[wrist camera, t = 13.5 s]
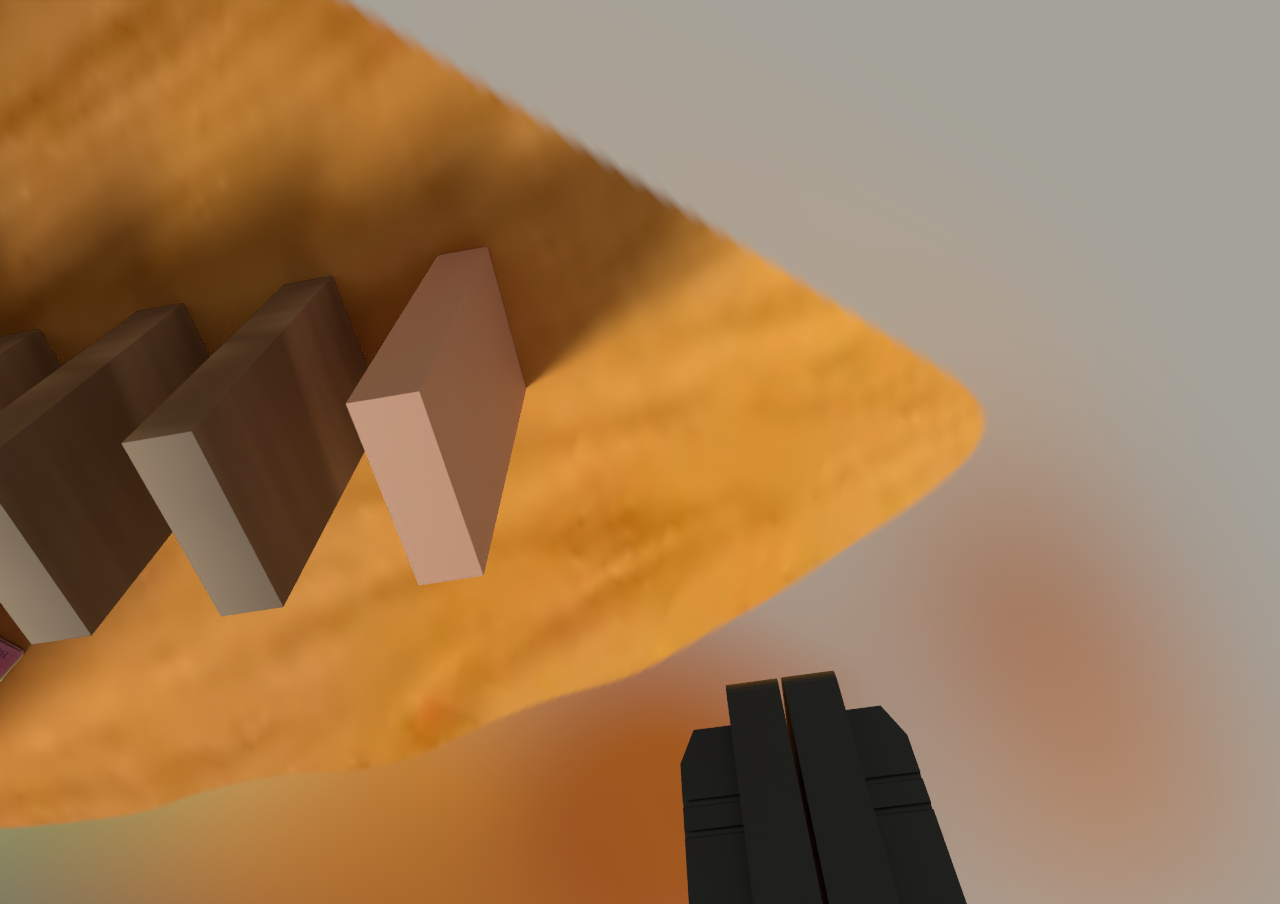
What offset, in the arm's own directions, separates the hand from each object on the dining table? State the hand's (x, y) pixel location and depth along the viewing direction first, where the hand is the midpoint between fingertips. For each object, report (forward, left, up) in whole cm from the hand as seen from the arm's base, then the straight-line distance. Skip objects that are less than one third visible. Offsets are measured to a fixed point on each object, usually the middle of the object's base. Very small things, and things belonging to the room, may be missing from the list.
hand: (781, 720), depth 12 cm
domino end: (-7, 0, -18) cm, 19 cm away
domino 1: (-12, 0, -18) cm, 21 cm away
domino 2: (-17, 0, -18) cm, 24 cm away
